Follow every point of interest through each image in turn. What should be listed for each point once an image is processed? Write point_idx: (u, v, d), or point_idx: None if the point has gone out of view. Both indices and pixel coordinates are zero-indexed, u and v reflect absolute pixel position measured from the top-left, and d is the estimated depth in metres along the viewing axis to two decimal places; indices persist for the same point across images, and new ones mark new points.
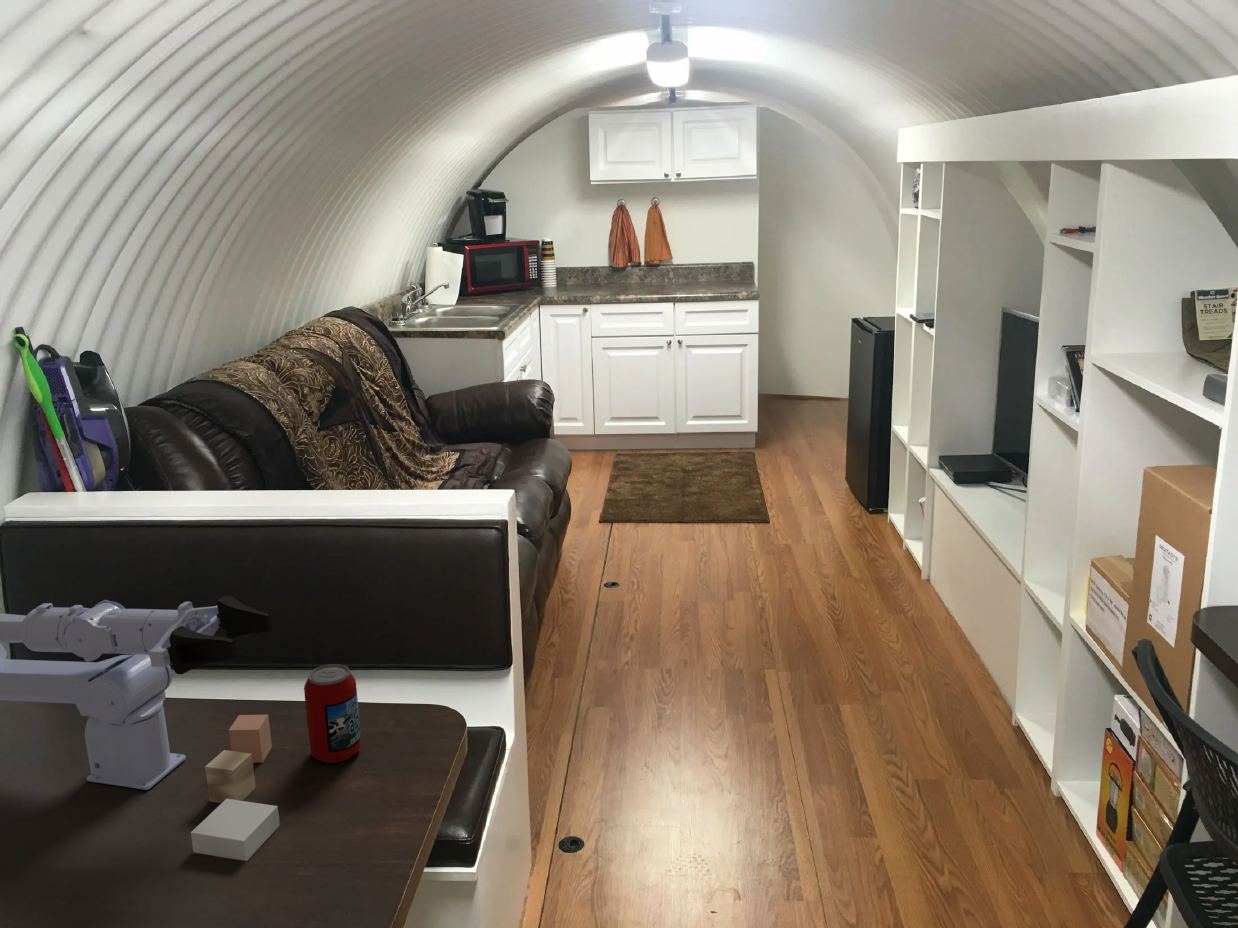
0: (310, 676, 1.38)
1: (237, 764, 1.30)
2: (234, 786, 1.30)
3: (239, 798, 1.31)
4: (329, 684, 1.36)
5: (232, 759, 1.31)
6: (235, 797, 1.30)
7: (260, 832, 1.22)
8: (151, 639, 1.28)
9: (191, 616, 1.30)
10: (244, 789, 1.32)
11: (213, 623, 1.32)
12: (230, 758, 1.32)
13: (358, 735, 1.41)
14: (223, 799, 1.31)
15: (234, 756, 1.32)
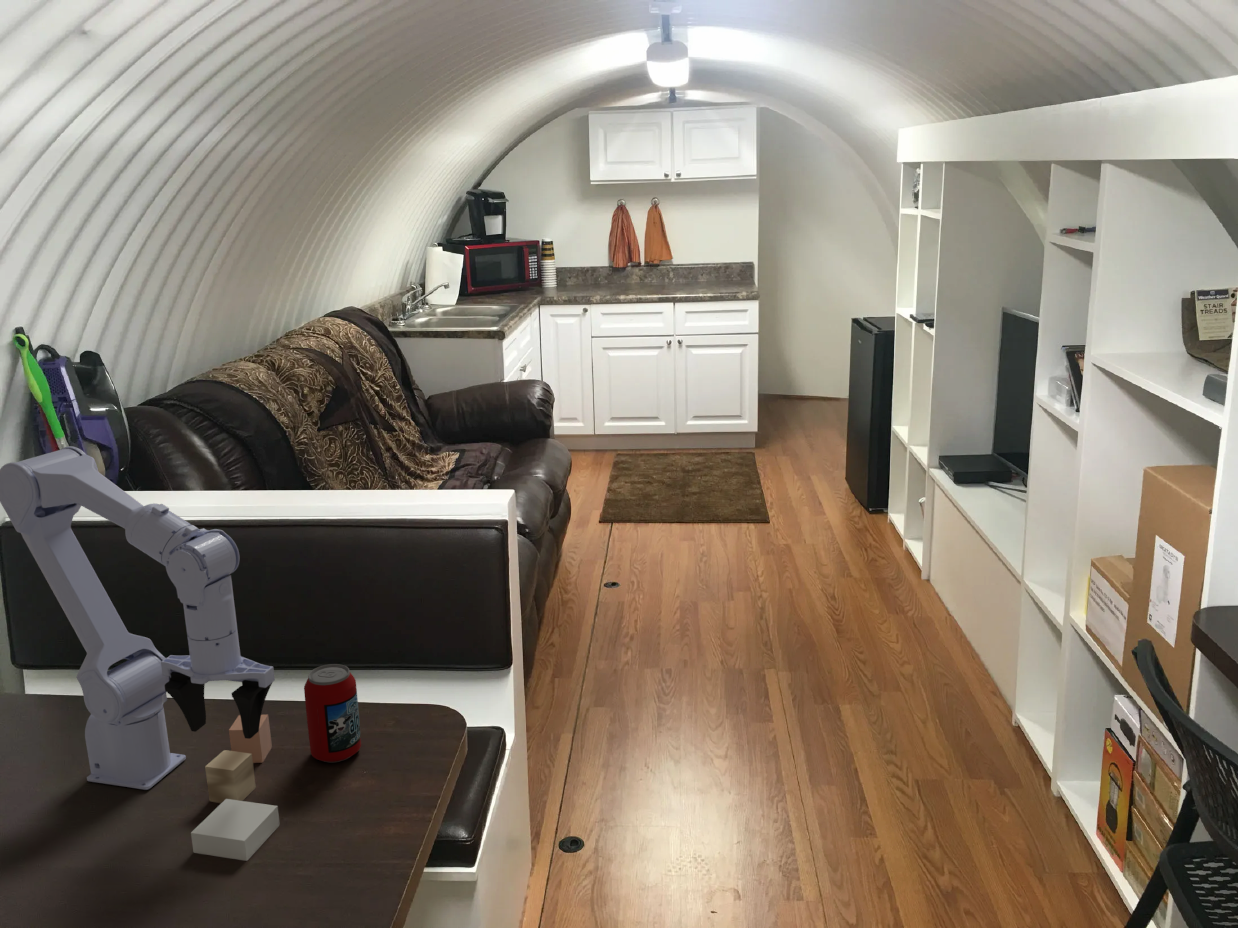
0: (310, 676, 1.38)
1: (237, 764, 1.30)
2: (234, 786, 1.30)
3: (239, 798, 1.31)
4: (329, 684, 1.36)
5: (232, 759, 1.31)
6: (235, 797, 1.30)
7: (260, 831, 1.22)
8: None
9: None
10: (244, 789, 1.32)
11: (235, 680, 1.28)
12: (230, 758, 1.32)
13: (358, 735, 1.41)
14: (223, 799, 1.31)
15: (234, 756, 1.32)
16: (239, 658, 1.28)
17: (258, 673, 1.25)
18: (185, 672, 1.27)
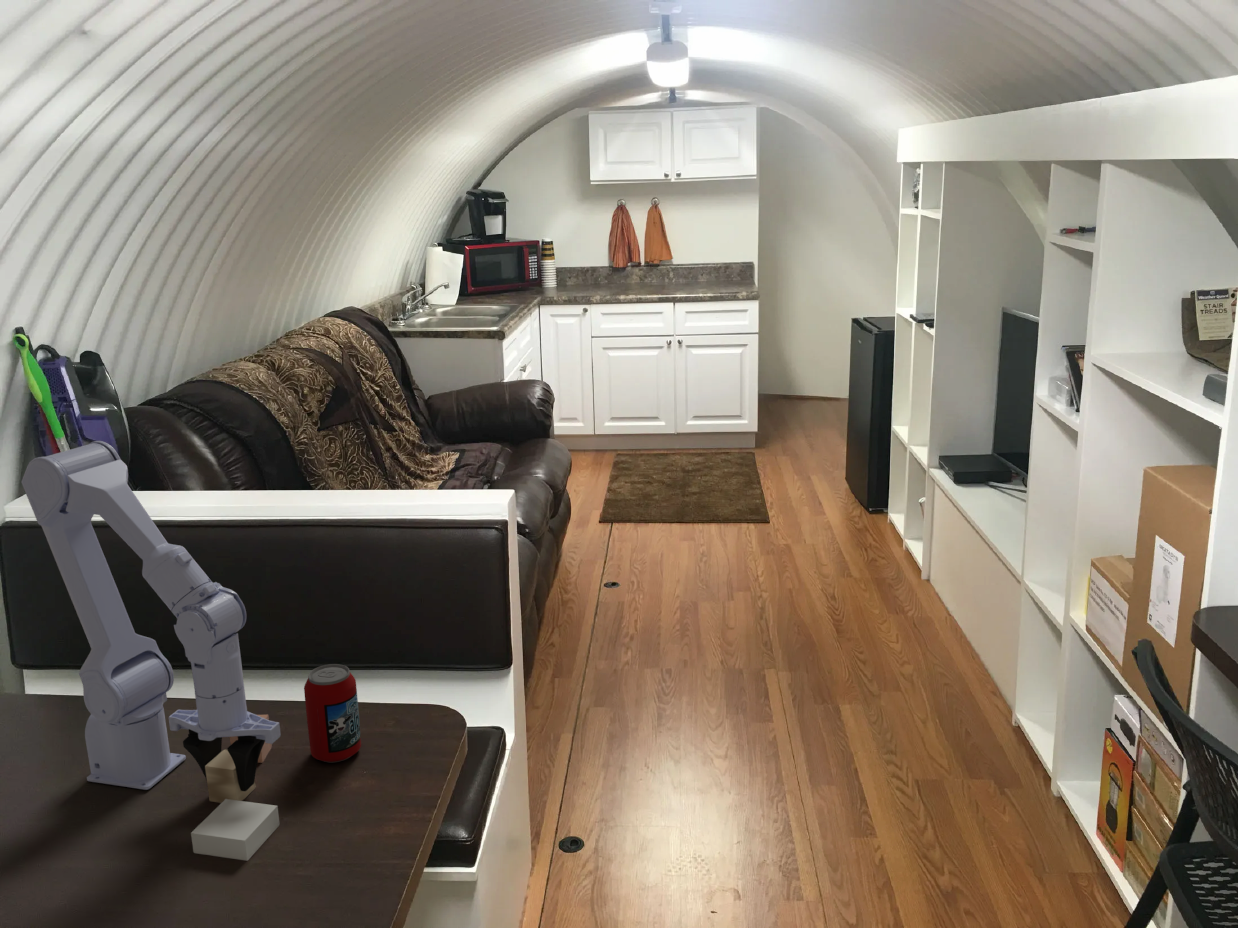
0: (310, 676, 1.38)
1: None
2: (234, 786, 1.30)
3: (239, 797, 1.31)
4: (329, 684, 1.36)
5: (232, 759, 1.31)
6: (235, 796, 1.30)
7: (260, 831, 1.22)
8: None
9: None
10: None
11: None
12: (230, 757, 1.32)
13: (358, 735, 1.41)
14: (223, 798, 1.31)
15: None
16: (246, 714, 1.30)
17: (264, 729, 1.27)
18: (192, 728, 1.29)
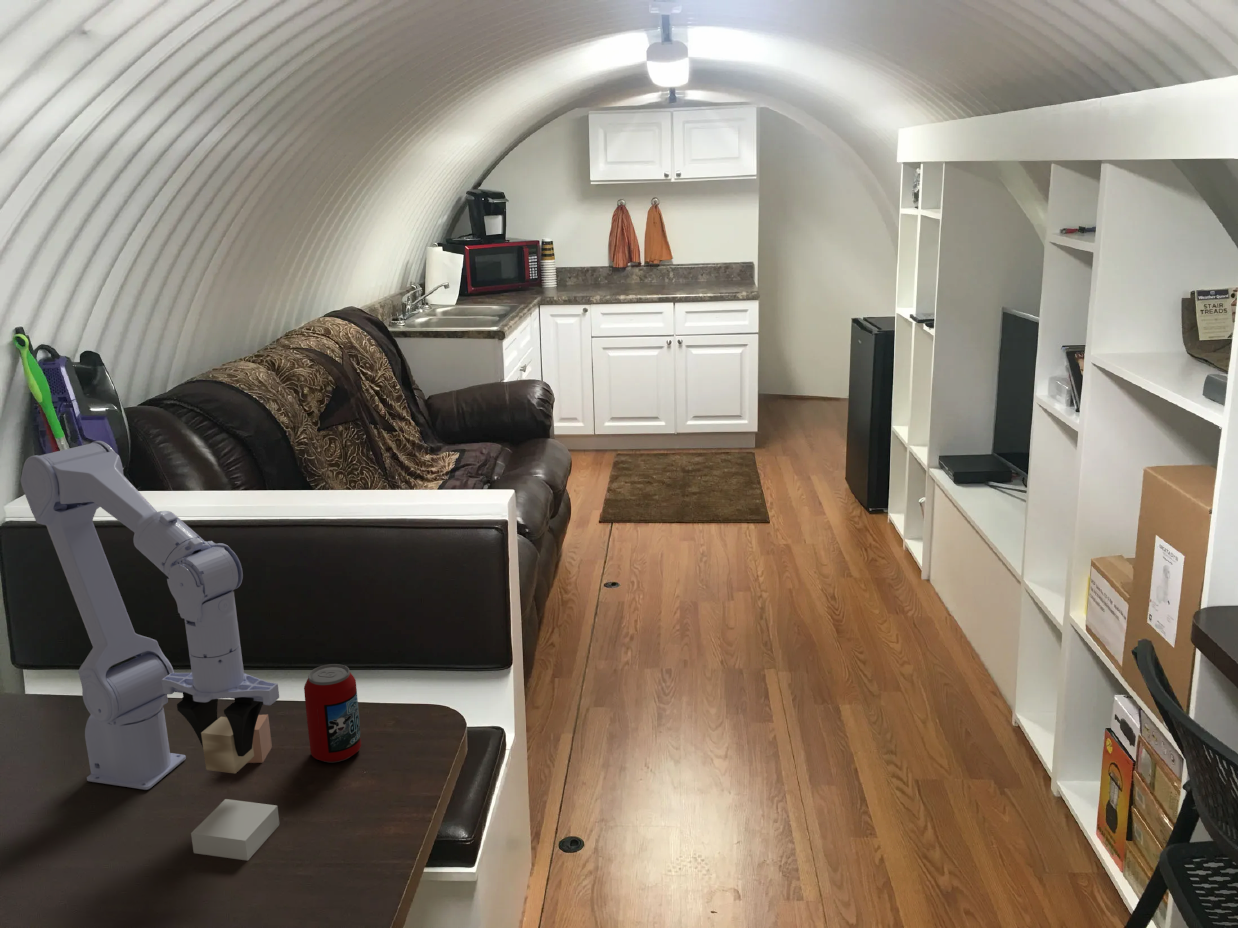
0: (310, 676, 1.38)
1: None
2: (232, 753, 1.24)
3: (237, 765, 1.25)
4: (329, 684, 1.36)
5: (229, 726, 1.26)
6: (233, 764, 1.25)
7: (261, 831, 1.22)
8: None
9: None
10: (242, 756, 1.26)
11: None
12: (227, 724, 1.26)
13: (358, 735, 1.41)
14: (220, 767, 1.25)
15: None
16: (242, 675, 1.25)
17: (262, 690, 1.22)
18: (187, 690, 1.23)
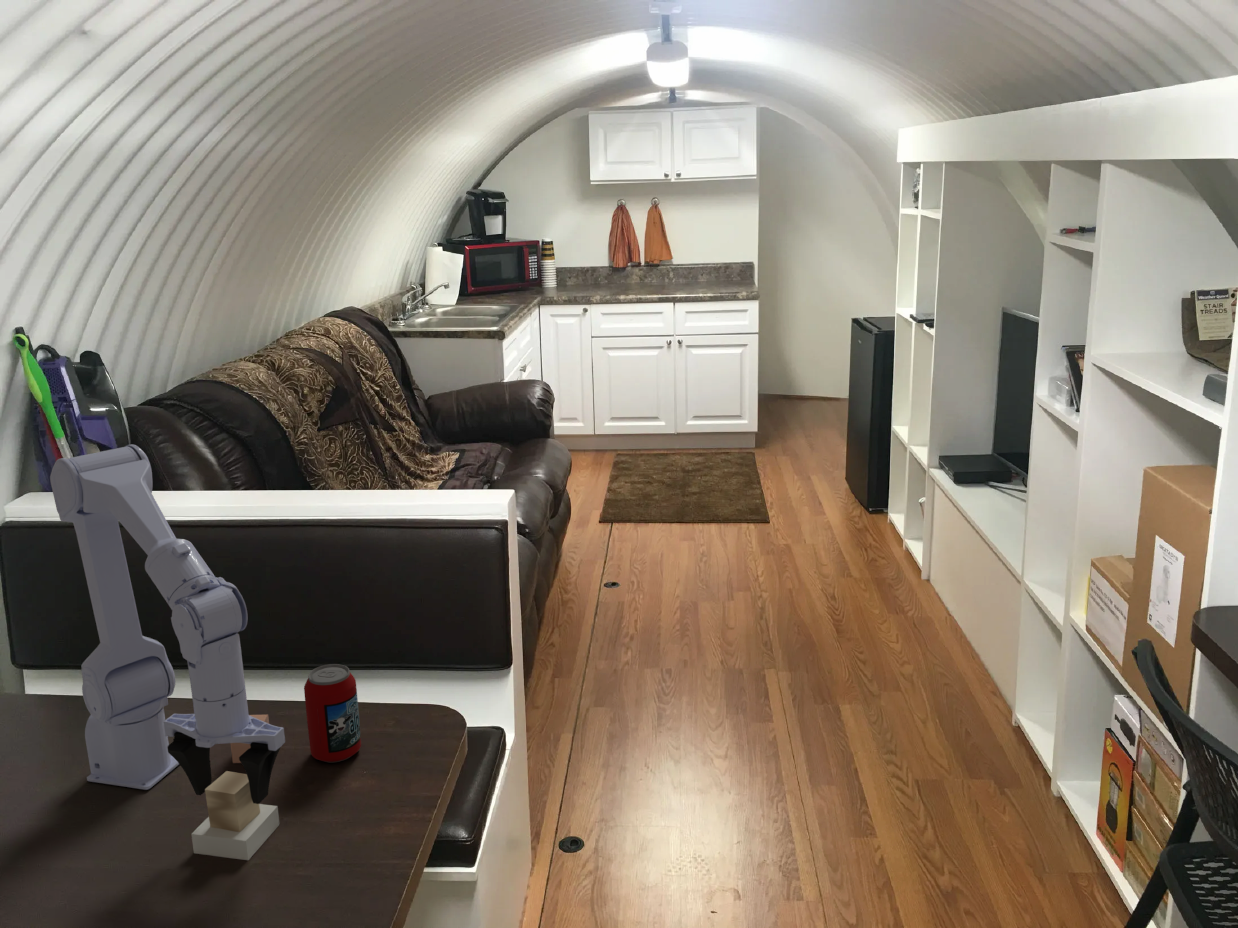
0: (310, 676, 1.38)
1: (239, 787, 1.21)
2: (236, 811, 1.20)
3: (241, 824, 1.21)
4: (329, 684, 1.36)
5: (234, 782, 1.22)
6: (237, 823, 1.21)
7: (261, 831, 1.22)
8: None
9: None
10: (247, 814, 1.22)
11: (243, 742, 1.20)
12: (232, 780, 1.22)
13: (358, 735, 1.41)
14: (224, 825, 1.21)
15: (237, 778, 1.23)
16: (247, 718, 1.20)
17: (268, 735, 1.17)
18: (190, 734, 1.19)
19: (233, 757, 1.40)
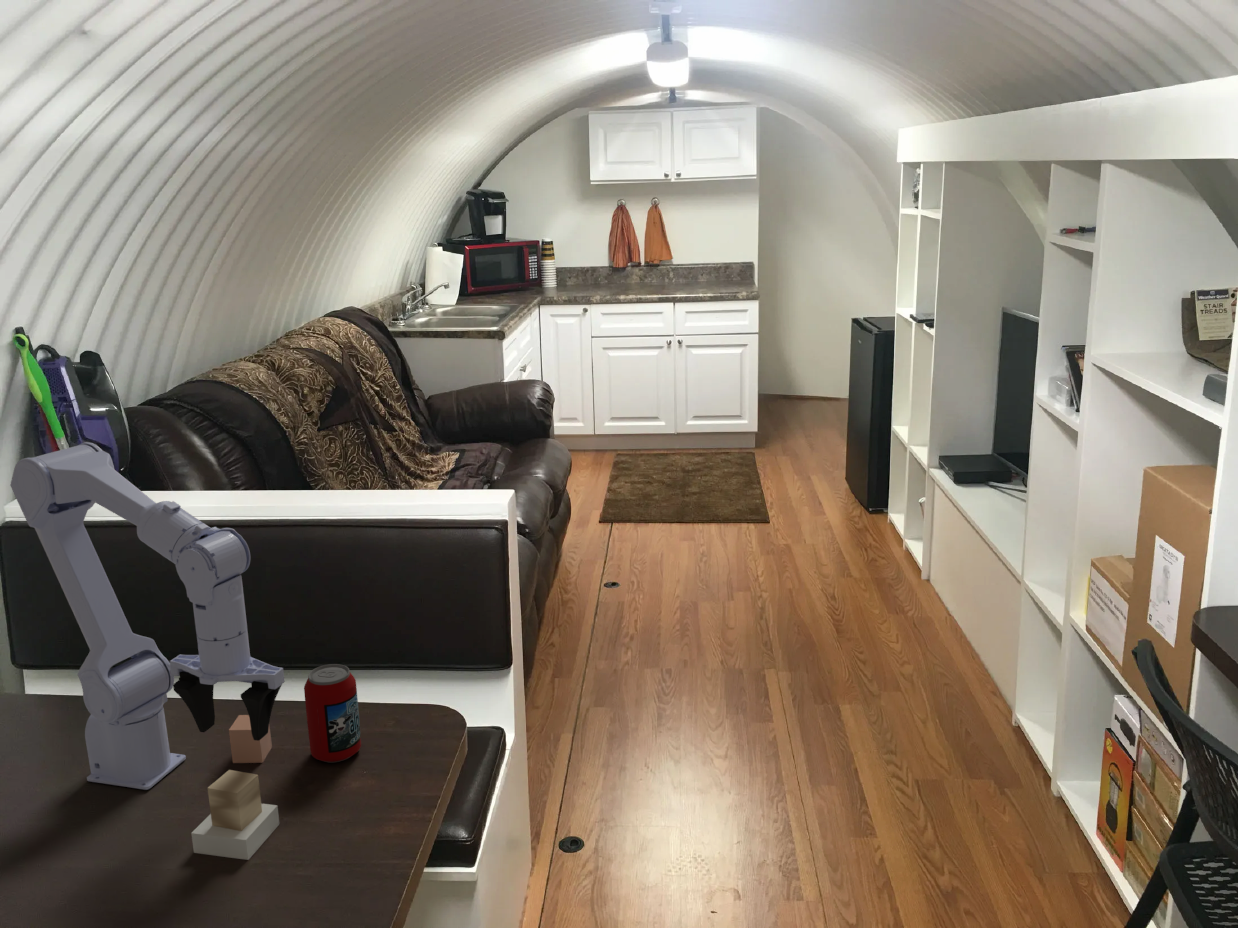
0: (310, 676, 1.38)
1: (241, 786, 1.21)
2: (238, 810, 1.20)
3: (243, 823, 1.21)
4: (329, 684, 1.36)
5: (236, 781, 1.22)
6: (239, 822, 1.21)
7: (261, 831, 1.22)
8: None
9: None
10: (249, 813, 1.22)
11: (245, 681, 1.26)
12: (235, 779, 1.22)
13: (358, 735, 1.41)
14: (226, 823, 1.21)
15: (239, 777, 1.23)
16: (249, 659, 1.26)
17: (268, 674, 1.23)
18: (194, 672, 1.25)
19: (233, 757, 1.40)
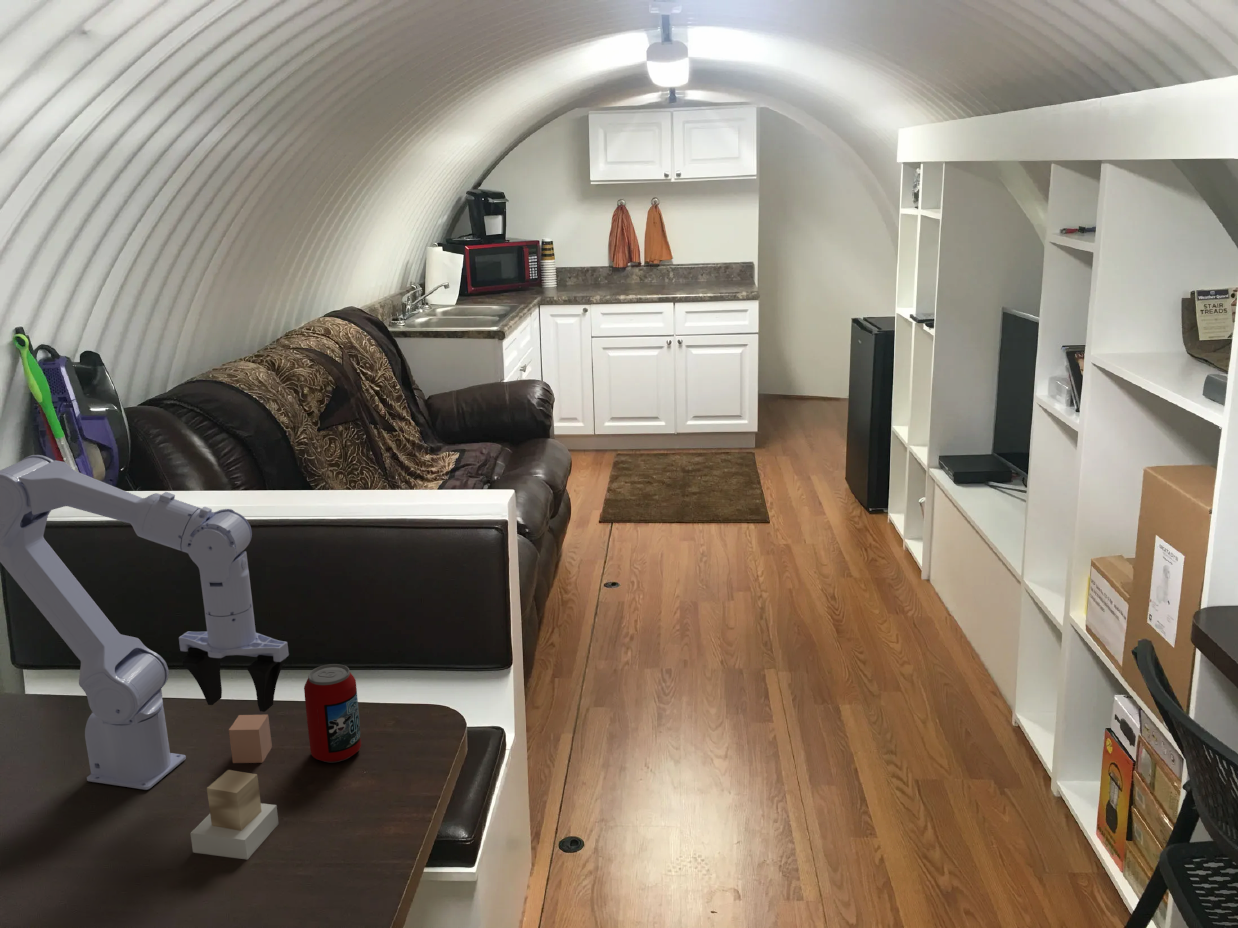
0: (310, 676, 1.38)
1: (241, 786, 1.21)
2: (237, 810, 1.20)
3: (243, 822, 1.21)
4: (329, 684, 1.36)
5: (236, 781, 1.22)
6: (238, 821, 1.21)
7: (260, 830, 1.23)
8: None
9: None
10: (249, 813, 1.22)
11: (251, 655, 1.32)
12: (234, 779, 1.22)
13: (358, 735, 1.41)
14: (226, 823, 1.21)
15: (238, 777, 1.23)
16: (254, 634, 1.33)
17: (273, 648, 1.30)
18: (202, 647, 1.31)
19: (233, 757, 1.40)
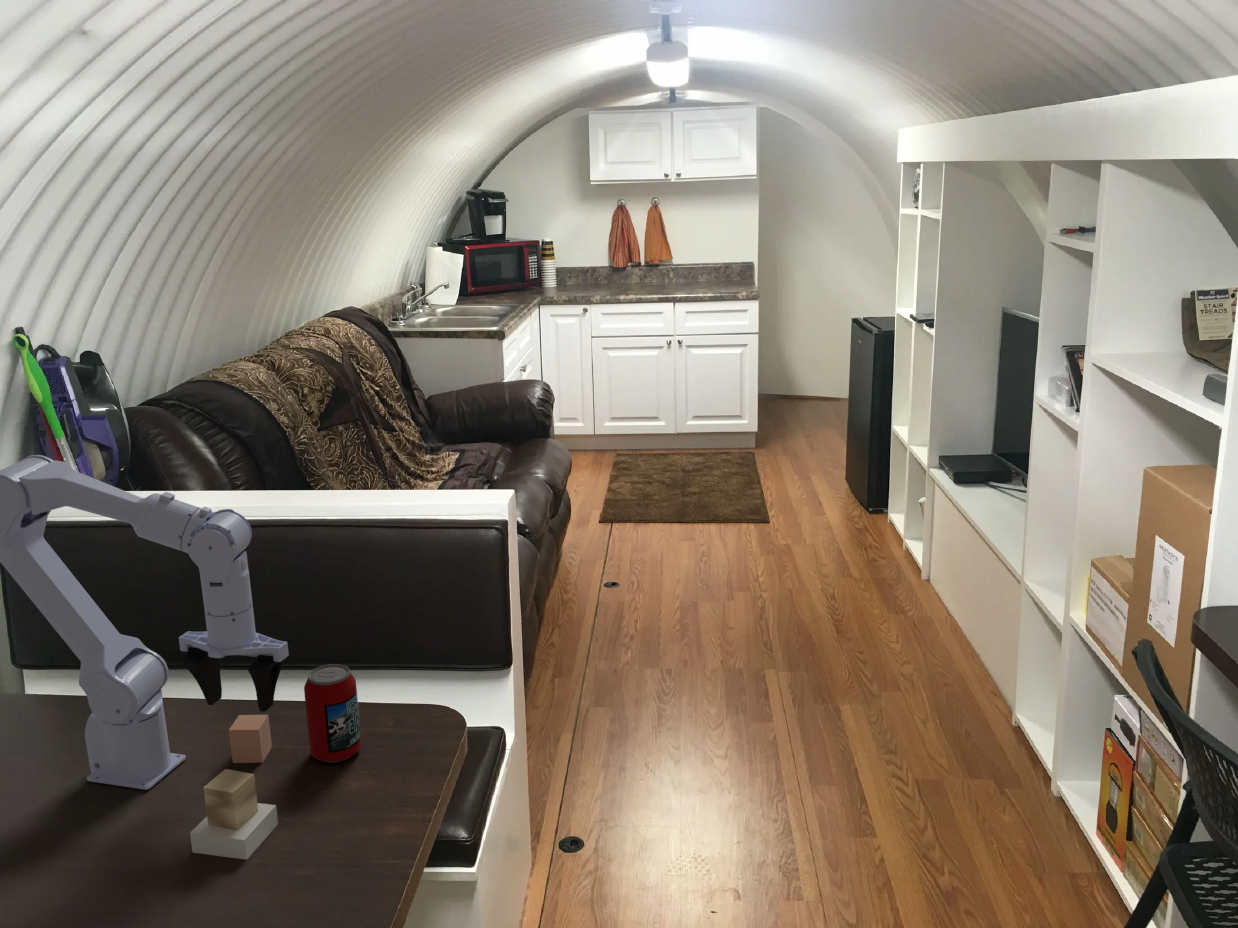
0: (310, 676, 1.38)
1: (237, 786, 1.21)
2: (234, 810, 1.20)
3: (239, 822, 1.21)
4: (329, 684, 1.36)
5: (232, 780, 1.22)
6: (235, 821, 1.21)
7: (259, 830, 1.23)
8: None
9: None
10: (245, 812, 1.22)
11: (251, 655, 1.32)
12: (231, 778, 1.22)
13: (358, 735, 1.41)
14: (222, 823, 1.21)
15: (235, 776, 1.23)
16: (254, 634, 1.33)
17: (273, 648, 1.30)
18: (202, 647, 1.31)
19: (233, 757, 1.40)
